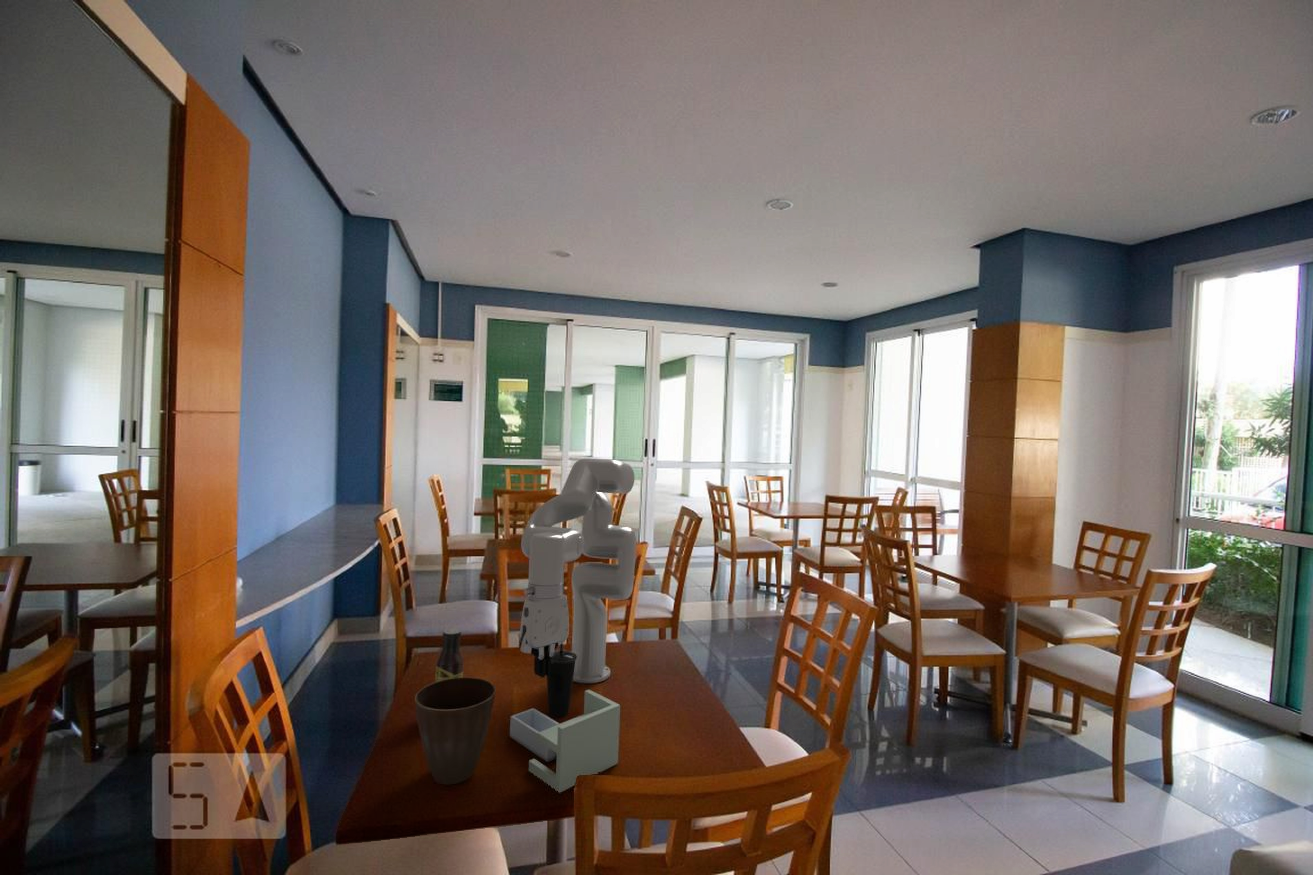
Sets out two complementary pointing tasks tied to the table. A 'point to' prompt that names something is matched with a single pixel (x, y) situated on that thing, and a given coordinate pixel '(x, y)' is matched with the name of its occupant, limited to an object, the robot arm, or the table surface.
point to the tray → (532, 732)
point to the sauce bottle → (450, 657)
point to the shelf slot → (581, 743)
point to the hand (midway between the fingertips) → (542, 674)
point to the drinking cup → (560, 682)
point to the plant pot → (454, 725)
